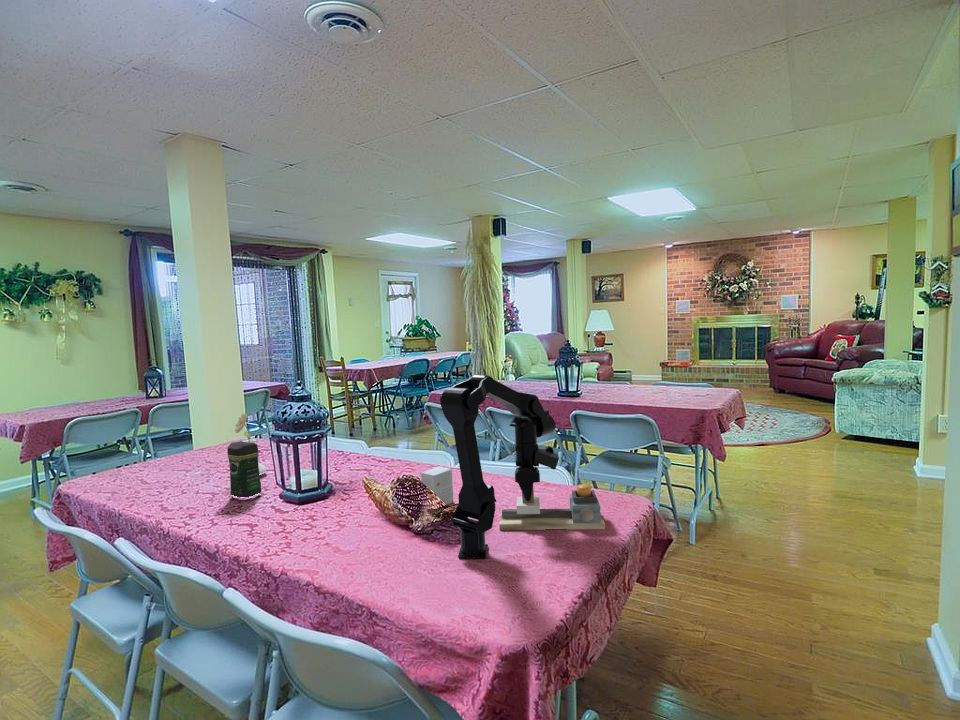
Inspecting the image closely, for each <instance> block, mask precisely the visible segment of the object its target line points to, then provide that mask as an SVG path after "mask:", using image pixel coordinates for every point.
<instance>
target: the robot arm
mask: <svg viewBox="0 0 960 720" xmlns="http://www.w3.org/2000/svg"><path fill="white" fill-rule="evenodd" d="M444 389H445V390H443V392H442V393H441V395H440V398H439V403H440V407H441V409H442V414H443V417H444V418H445V419H446V420H447V422H448V423H449V425H450V426H451V427H452V431H453V438H454V444H455V448H456V453H457V454H456V455H457V459H458V460H457V461H458V465H459V472H460V478H461V483H462V485H461V487H460V488H461V489H460V491H458V492H459V493H458V504H457V505H456V508H455V510H454V511H453V513H452V515H451V518H450V522H451V525H452V526H453V527H456V528H458V529H460V530H459V531H460V548H459V551H458V557H457V558H458V559H487V556H488V549H489V544H488V543H487V544H486V534H485V533H486V532H487V531H489V530H490V529H493V525H494V518H495V513H496V502H497V499H496V496H495V487H494V486H493V485H490V484H487V483H486V482H485V480H484V476H483V471H482V465H481V464H482V462H481V458H480V453H479V446H478V445H479V444H478V440H477V434H476V427H475V423H476V421H477V417H478V416H479V414H480V413H479V410H480V409H479V406H480V405H481V404H482V403H484V402H485V401H486V399H487V398H486V397H488V398H490V399H492V400H494V401H496V402H499V403H500V404H503V405H504V406H505V408H506V410H507V411H508V412H510V413H511V414H512V415H515V416H514V418H513V419H512V420H511V421H510V423H509V426H510V427H513V428H514V438H515V439H514V442H515V443H514V447H515V449H514V450H515V466H516V468H515V471H514V482H515V483H517V484H518V486H519V488H520V490H521V493H523V495H524V497H525V499H526V501H530V499H531V494H532V488H533V489H534V483H540V482H541V475H540V474H541V473H540V470H539V467H540V465H541V466H544V467H547V468H550V469H551V470H556V469H557V466H558V463H559V461H560V456H559V454H557V452H554V448H553V446H549V445H548V446H546V448H539V443H538V438H541V437H545V436H547V435H550V434H552V433H554V432H555V429H556V422H555V419H554V418H553V416H552V415H551V414H550V411H549V410H548V409H544V407H543V405H542V403H541V402H540V399H539V397H538V396H537V395H536V394H531V393H527V392H520V391H516V390H515V389H514V388H513V389H512V388H511V387H509V386H507V385H505V384H504V383H502V382H500V381H498V380H495V379H494V378H493V377H491V375H487V374H475V375H473V376H471V377H469V378H468V379H466V380H463V381H462V382H459V383H456V384H455V385H452V386H450V387H447V388H444Z"/></svg>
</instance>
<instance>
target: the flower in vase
mask: <svg viewBox="0 0 960 720" xmlns="http://www.w3.org/2000/svg"><path fill="white" fill-rule="evenodd" d="M247 419H248V414H247V413H246V412H245V413H242V414H241V416H240V417H238V421H237V423H236V424H235V429H234V432H235V433H236V434H238V433H240V432H241V431H242V430H243V429H244V427H245V428H246V429H247V430H245V431H244V432H243V435H244V436H245V437H246V438H247V439H246V440H245V439H244V440H241V441H242V442H249V443H255V444H256V441H257V439H251V437H252V435H251V432H250V430H249V428H248V426H247V424H246V423H247ZM258 465H259V474H260V473H263V472H265V471H266V470H267V471H268V468H267V467H266V466H265V465H263V464H262V463H260V462H258Z"/></svg>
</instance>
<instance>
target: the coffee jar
mask: <svg viewBox="0 0 960 720" xmlns="http://www.w3.org/2000/svg"><path fill="white" fill-rule="evenodd" d="M242 441H243V440H239V441H234V442H232V443H229V445H228V446H227V458H228V464H229V479H230V480H229V481H230V496H231V495H234V496H237V497H249V496H253V495H255V494H258V493H260V492H261V491H262V483H261V476H260V475H259V465H258V463H259V447H258V444H257V443H256V442H255V443H249V442H242Z"/></svg>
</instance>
